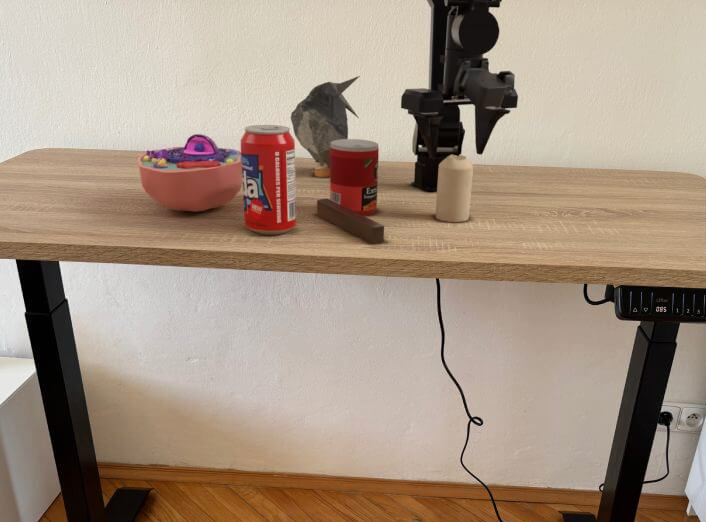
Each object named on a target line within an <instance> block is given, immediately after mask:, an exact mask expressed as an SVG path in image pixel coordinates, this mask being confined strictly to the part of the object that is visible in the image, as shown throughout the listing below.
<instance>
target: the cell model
mask: <svg viewBox="0 0 706 522" xmlns="http://www.w3.org/2000/svg"><path fill="white" fill-rule="evenodd" d="M136 161H137V165H138V170H139V175H140V183H141V187H142V188H143V190H144V191H145V193H146V194H147V195H148V196H149V197H150V198H151V199H153V200H154V201H156V202H157V203H159V204H160V205H162V206H164V207H165V208H167V209H169V210H173V211H183V212H193V213H194V212H195V213H196V212H201V213H202V212H205V211H207V210H210V209H216V208H219V207H222V206H225V205H227V204H229V203H230V202H232V201H233V200H234V198H235V197H237V195H238V193H239V192H240V191H241V189H242V188H243V182H242V162H241V151H239V150H237V149H233V148H221V147H218V145H217V143H216V142H215V141H214V140H213V138H212V137H209V136H207V135H206V134H202V133H197V134H192V135H191V136H189V137H188V138H187V140H186V143H185V144H184V146H174V147H173V146H171V147H168V148H167V147H166V148H162V149H151V150H148V149H147V150H146V152H144V153H142V154H140V155H139V156H138V157H137V159H136Z"/></svg>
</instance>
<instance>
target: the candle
mask: <svg viewBox="0 0 706 522" xmlns="http://www.w3.org/2000/svg"><path fill="white" fill-rule="evenodd" d="M473 171H474V166H473V164H472V162H470V160H469V158H468V157H467V156H466V155H462V154H460V156H455V155H450V156H449V157H447V158H446V159H444V160H443V161H442V162H441V163H440V164H439V170H438V186H437V190H436V203H435V205H436V206H435V218H436V219H437V220H440V221H442V222H449V223H461V222H466V221H468V220H469V218H470V209H471V208H470V206H471V197H472V196H471V195H472V186H473V185H472V183H473Z"/></svg>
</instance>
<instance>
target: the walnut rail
mask: <svg viewBox="0 0 706 522" xmlns="http://www.w3.org/2000/svg"><path fill="white" fill-rule="evenodd" d="M316 215H317V216H319V217H320V218H323V219H324V220H326V221H328V222H330V223H332V224H334V225H335V226H337V227H340V228H342V229H343V230H345V231H347V232H349V233H350V234H353V235H355V236H357V237H359V238H361V239H363V240H365V241H366V242H368V243H370V244H372V245H374V244H381V243H384V242H385V225H383V224H381V223H380V222H377V221H375V220H373V219H371V218H369V217H367V216H366V215H364V216H363V215H361V214H359V213H357V212H354V211H352V210H350V209H348V208H346V207H344V206H342V205H340V204H338V203H336V202H334V201H332V200H330V198H321V199H317V200H316Z"/></svg>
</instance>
